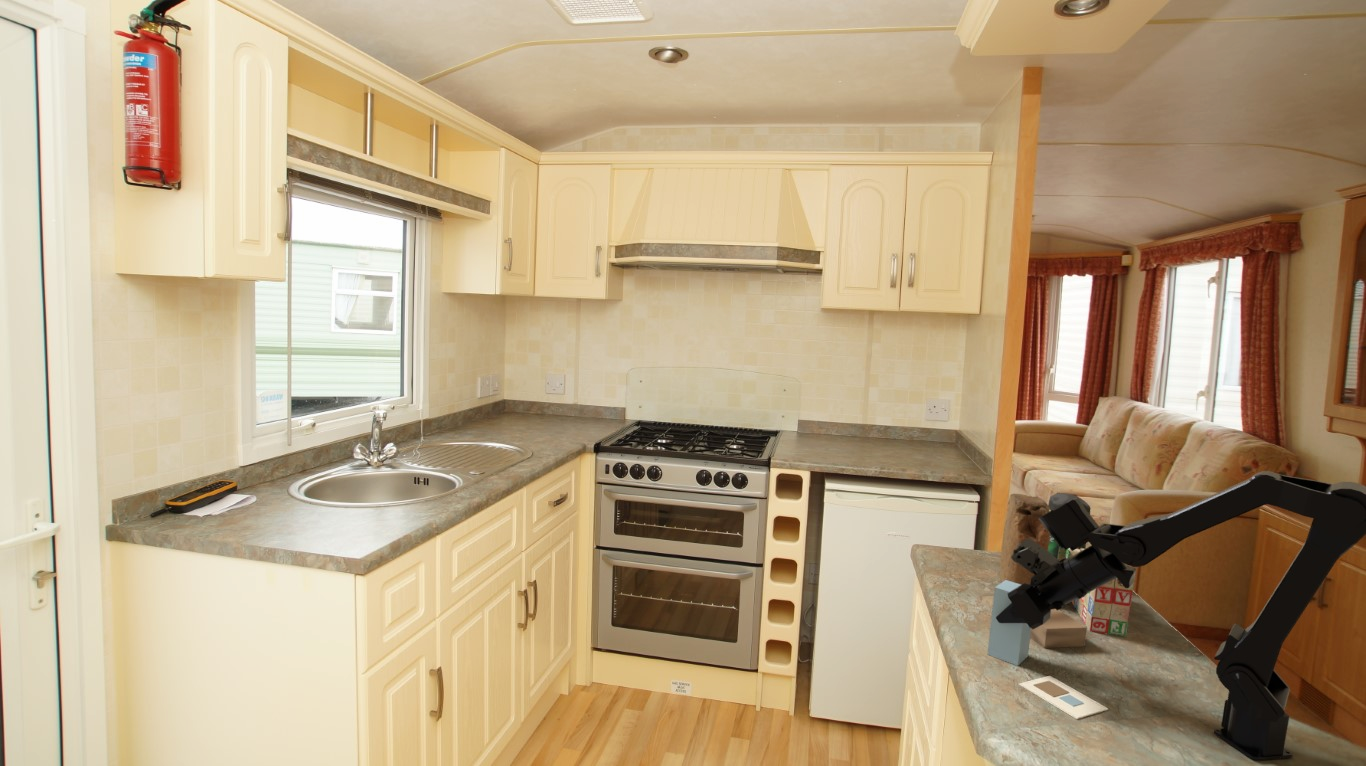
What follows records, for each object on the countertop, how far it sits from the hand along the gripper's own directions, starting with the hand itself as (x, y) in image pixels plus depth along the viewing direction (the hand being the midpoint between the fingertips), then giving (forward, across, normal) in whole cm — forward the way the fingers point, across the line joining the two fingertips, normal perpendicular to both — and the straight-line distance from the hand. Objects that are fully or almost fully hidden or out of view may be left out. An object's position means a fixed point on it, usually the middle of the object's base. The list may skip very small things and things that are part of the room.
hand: (1003, 615), depth 125 cm
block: (+10, -32, 0) cm, 33 cm away
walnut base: (+2, -14, +7) cm, 16 cm away
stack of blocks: (+1, -33, +9) cm, 34 cm away
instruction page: (-4, +7, +13) cm, 16 cm away
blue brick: (+4, 0, +6) cm, 7 cm away
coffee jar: (+8, -48, +2) cm, 49 cm away
